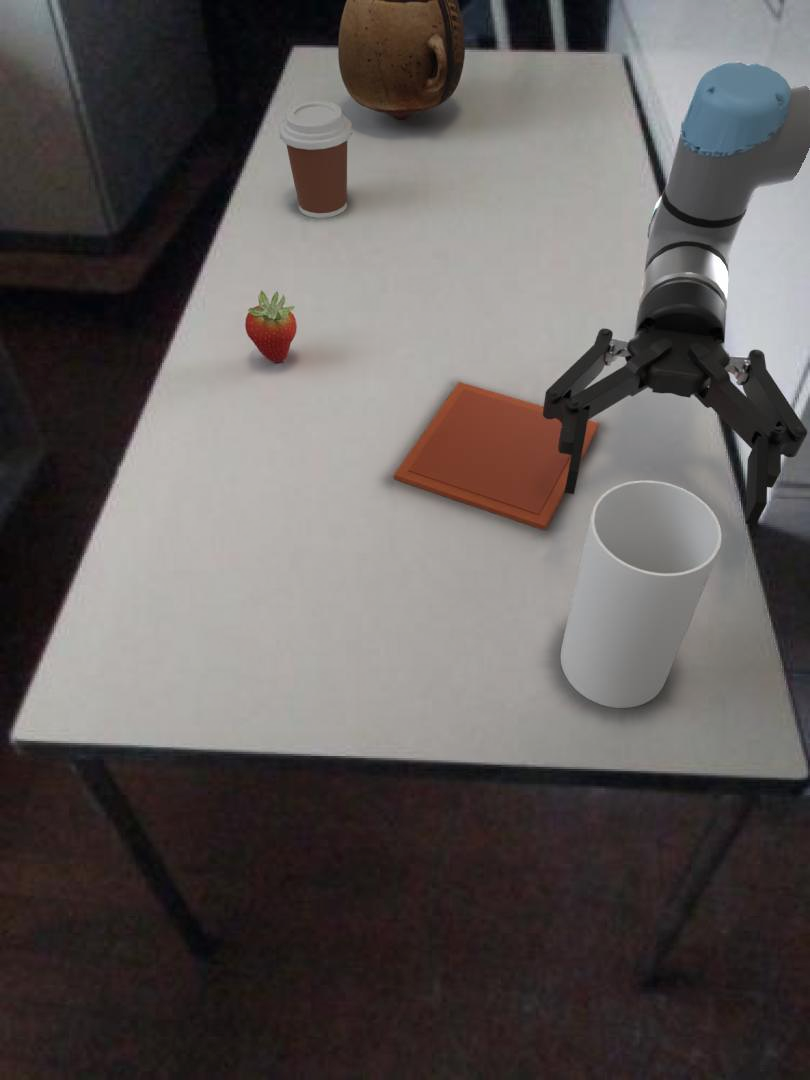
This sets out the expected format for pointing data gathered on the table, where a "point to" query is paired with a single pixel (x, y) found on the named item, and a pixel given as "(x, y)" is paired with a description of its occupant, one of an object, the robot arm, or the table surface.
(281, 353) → the fruit
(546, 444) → the mat
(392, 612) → the table surface
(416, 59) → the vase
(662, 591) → the cup
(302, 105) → the coffee cup
